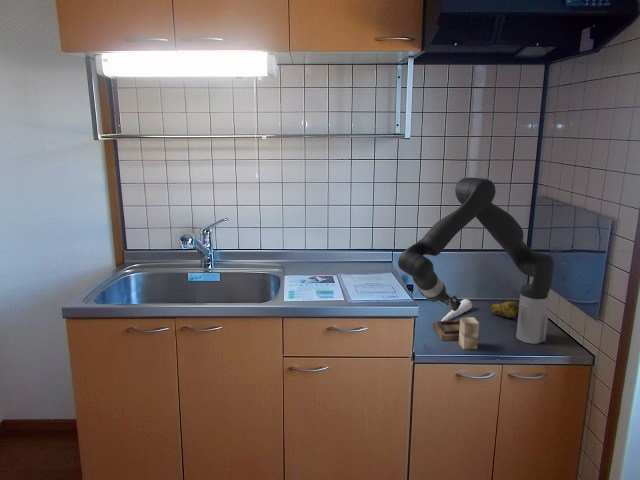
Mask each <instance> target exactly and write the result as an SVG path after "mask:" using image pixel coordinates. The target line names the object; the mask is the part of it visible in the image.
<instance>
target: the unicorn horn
mask: <svg viewBox="0 0 640 480" xmlns="http://www.w3.org/2000/svg"><path fill="white" fill-rule="evenodd" d="M460 303H461V304H460V306H459V308H458V309H457V310H456V311H453V310H452V309H451V310H450V311H449V312H448V313H447V314H446V315H444V317H443V318H442V319H441V320H440V321H451V320H452V319H455V318H457V317H458V316H460V315H462V314H464V313H465V312H467V311H470V310H471V309H472V308H473V305H472V301H471V300H469V299H468V298H464V299H462V300H461V301H460Z"/></svg>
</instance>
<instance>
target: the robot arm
mask: <svg viewBox="0 0 640 480" xmlns="http://www.w3.org/2000/svg"><path fill="white" fill-rule="evenodd" d="M454 189H455V190H454V193H455V197H456V199H457V201H458V202H459V203H460V205H461V206H459V207H458V208H457V209H456V210H454V211H452V212H451V213H449V214H447V215H446V216H445V217H443V218H441V219H440V220H438V221H437V222H436V223H434V224H433V226H431V227H430V229H429V230H428V231H427V232H426V233H425V235H424V236H423V237H422V238H421V239H419V240H418V241H417V242H415V243H413V244H412V245H410V246H409V247H407V248H406V249H405V250H404V251H403V252H401V254H400V255H399V257H398V260H397V266H398V268H399V269H400V270H401V271H402V272H404V273H405V274H408V275H409V276H411V277H412V281H413V282H414V284H415V285H416V286H417V287H418V292H419V294H420V295H422V296H423V297H425V298H426V300H428V301H430V302H432V303H435V302H439V303H441V304H443V305H444V306H449V307H450V308H451V310H453V311H456V310H457V309H458V308H459V306H460V304H461V303H460V302H461V301H460V300H459V298H458V297H457V296H455V295H452V296H451V295H450V294H448V292H447V287H446V285H445V284H444V282H443V281H442V279H441V278H440V277H439V276H438V274H436V272H435V269H434V268H435V267H434V263H433V262H432V261H431V260H430V259H429V258H427V257H426V256H427V255H429V256H432V257H434V256H435V257H437V256H438V255H440V253H442V252H443V250H445V248H446V247H447V246H448V245H449V243H450V242H451V241H452V240H453V238H454V237H455V236H456V235H457V234H458V233H459V232H460V231H461V230H462V229H463V228H464V227H466V226H467V225H468V224H469V223H470V222H472V220H473V219H475V218H476V219H477V220H478V222H479V223H480V224H481V225H482V226H483V227H484V228H485V229H486V230H487V232H488V233H489V234H490V235H491V236H492V238H493V239H494V240H495V241H496V242H497V244H499V245H500V247H501V248H502V249H503V250H504V251H505V252H506V253H507V254H508V256H509V257H510V258H511V260H512V261H513V263H514V264H515V265H516V267H517V269H518V270H519V272H520V273H522V274H523V275H524V276H528V277H532V283H527V284H522V285H521V287H520V293H519V302H518V303H519V313H518V317H517V325H516V326H517V327H516V336H515V337H516V339H518V340H519V341H521V342H523V343H527V344H533V345H534V344H535V345H536V344H541V343H543V342H546V340H547V339H546V337H547V331H548V321H549V318H548V316H547V315H546V314H547V308H548V297H549V292H550V291H551V287H552V281H553V276H554V270H555V261H554V259H553V256H551V255H550V254H547V253H544V252H539V251H536V250H533V249H531V248H530V247H529V246H528V245H527V244H526V243H525V241H524V236H525V235H524V230H523V227H522V226H521V225H520V224H519V222H518V221H517V220H516V219H515V218H514V217H513V216H512V215H511V214H510V213H509V212H507V211H506V210H504V208H503V209H502V208H501V207H499V206H498V205H495V204H494V203H493V201H494V199H495V196H496V192H497V191H496V186H495V184H494V182H493V181H491V180H490V179H487V178H481V177H479V178H478V177H465V178H461V179H460V180H458V182H457V183H456V185H455V187H454ZM425 255H426V256H425Z"/></svg>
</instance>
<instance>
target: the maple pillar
mask: <svg viewBox="0 0 640 480" xmlns="http://www.w3.org/2000/svg"><path fill="white" fill-rule="evenodd" d="M459 320H460V330H459V340H458V344H459V346H460V347H461V348H462V349H463V350H477V349H478V344H479V343H478V342H479V331H480V329H479V327H480V322H479V321H478V320H477V318H475V317H474V316H472V317H460V319H459Z"/></svg>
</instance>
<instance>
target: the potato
mask: <svg viewBox="0 0 640 480" xmlns="http://www.w3.org/2000/svg"><path fill="white" fill-rule="evenodd" d="M490 311H491V312H492V314H493V315H496V316H498V317H499V316H500V317H503V318H518V313H519V302H518V301H512V300H507V301H505V302H502V303H501V302H500V303H493V304H492V305H491V306H490Z"/></svg>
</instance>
